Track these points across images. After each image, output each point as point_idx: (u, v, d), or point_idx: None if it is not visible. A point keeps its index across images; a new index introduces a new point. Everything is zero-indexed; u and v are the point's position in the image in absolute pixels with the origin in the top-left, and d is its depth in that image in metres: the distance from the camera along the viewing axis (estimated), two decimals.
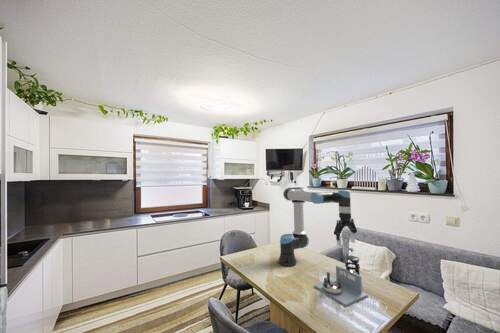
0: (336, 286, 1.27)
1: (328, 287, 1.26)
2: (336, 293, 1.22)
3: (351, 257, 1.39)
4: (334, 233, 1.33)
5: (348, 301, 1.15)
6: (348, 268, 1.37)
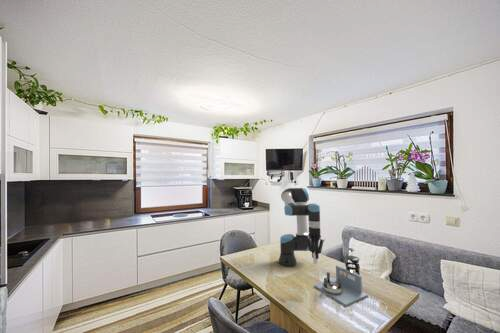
0: (336, 286, 1.27)
1: (328, 287, 1.26)
2: (336, 293, 1.22)
3: (351, 257, 1.39)
4: None
5: (348, 301, 1.15)
6: (348, 268, 1.37)
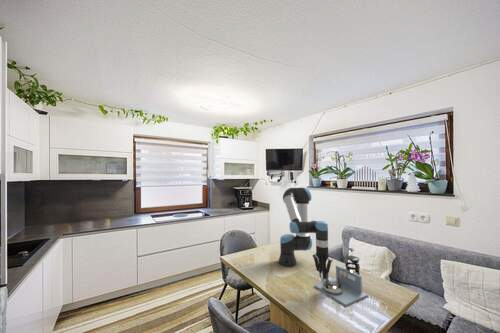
0: (336, 286, 1.28)
1: (329, 287, 1.26)
2: (338, 293, 1.22)
3: (351, 257, 1.39)
4: None
5: (348, 301, 1.15)
6: (348, 268, 1.37)
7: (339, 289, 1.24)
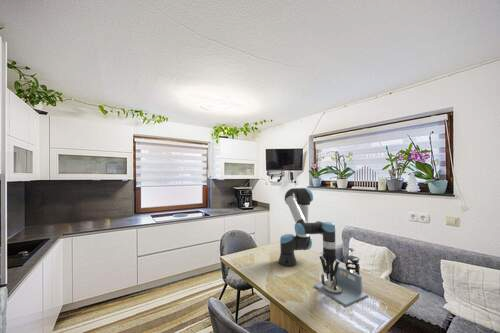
0: None
1: (335, 288, 1.25)
2: (342, 289, 1.26)
3: (351, 257, 1.39)
4: None
5: (348, 301, 1.15)
6: (348, 268, 1.37)
7: (340, 285, 1.28)
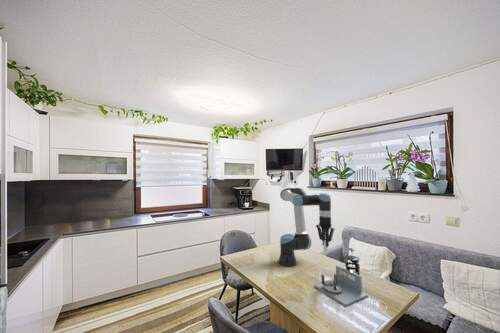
0: None
1: None
2: (342, 289, 1.26)
3: (351, 257, 1.39)
4: None
5: (348, 301, 1.15)
6: (348, 268, 1.37)
7: (340, 285, 1.28)
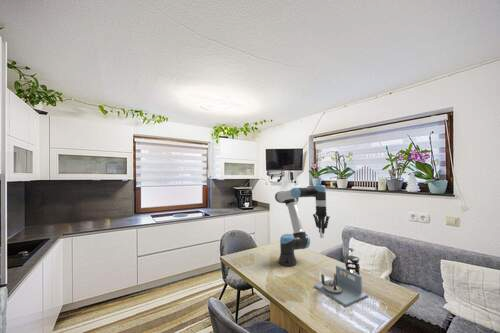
0: None
1: None
2: (342, 289, 1.26)
3: (351, 257, 1.39)
4: None
5: (348, 301, 1.15)
6: (348, 268, 1.37)
7: (340, 285, 1.28)
